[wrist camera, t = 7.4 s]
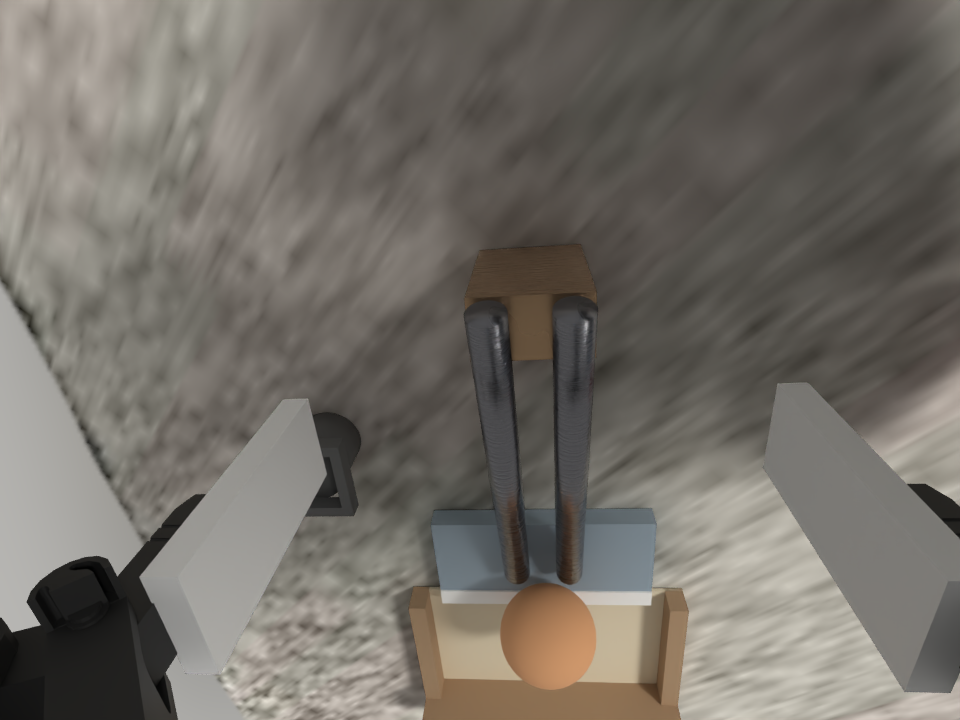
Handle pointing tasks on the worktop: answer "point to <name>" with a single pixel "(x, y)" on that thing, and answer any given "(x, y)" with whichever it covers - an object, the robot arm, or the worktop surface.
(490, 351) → the ramp
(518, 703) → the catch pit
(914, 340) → the worktop surface
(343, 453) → the tee
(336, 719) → the worktop surface
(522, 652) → the ball
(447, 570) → the block
